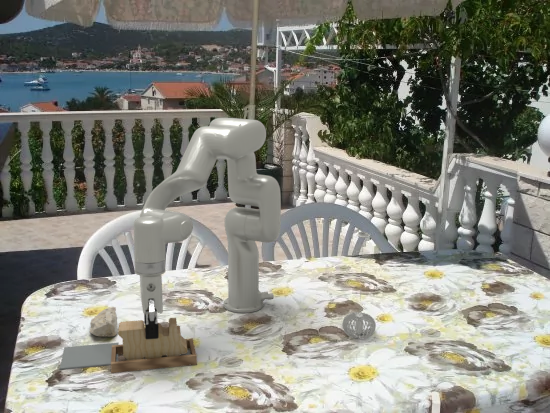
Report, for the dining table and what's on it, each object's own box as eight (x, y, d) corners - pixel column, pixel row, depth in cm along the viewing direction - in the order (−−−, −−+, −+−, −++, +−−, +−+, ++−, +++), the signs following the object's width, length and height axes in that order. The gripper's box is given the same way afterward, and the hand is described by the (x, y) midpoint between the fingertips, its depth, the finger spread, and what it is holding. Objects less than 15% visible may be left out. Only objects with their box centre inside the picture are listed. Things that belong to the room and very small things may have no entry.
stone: (89, 349, 173) (87, 327, 167) (91, 314, 182) (89, 291, 176) (117, 348, 175) (116, 325, 168) (118, 313, 184) (117, 290, 177)
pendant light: (377, 331, 178) (383, 230, 172) (371, 344, 170) (377, 239, 163) (346, 326, 181) (350, 227, 175) (338, 339, 173) (342, 235, 166)
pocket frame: (192, 346, 167) (192, 338, 167) (196, 364, 157) (196, 355, 157) (112, 353, 163) (111, 345, 162) (111, 372, 153) (110, 364, 152)
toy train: (187, 361, 159) (186, 325, 157) (119, 367, 156) (117, 330, 154) (186, 352, 164) (185, 316, 162) (120, 357, 161) (118, 321, 159)
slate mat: (118, 343, 169) (118, 342, 168) (117, 364, 157) (117, 362, 157) (64, 348, 165) (64, 347, 165) (59, 369, 154) (59, 368, 154)
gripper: (167, 276, 147) (168, 343, 150) (163, 255, 163) (164, 317, 167) (135, 277, 145) (136, 346, 149) (134, 257, 162) (135, 318, 165)
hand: (151, 330), depth 158 cm, fingers open, 9 cm apart
